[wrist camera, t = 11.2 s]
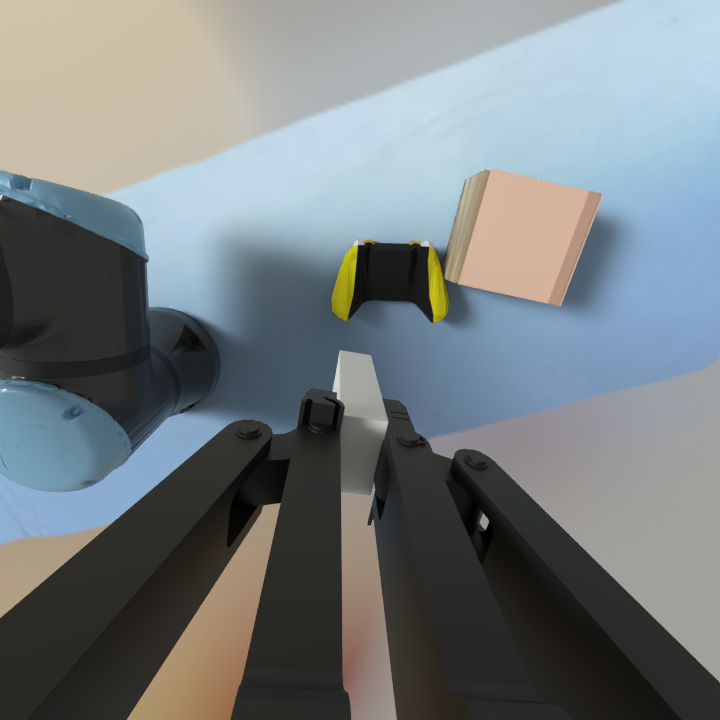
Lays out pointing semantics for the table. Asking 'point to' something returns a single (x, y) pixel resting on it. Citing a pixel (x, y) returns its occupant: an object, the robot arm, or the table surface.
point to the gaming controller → (391, 278)
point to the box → (464, 225)
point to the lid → (528, 237)
